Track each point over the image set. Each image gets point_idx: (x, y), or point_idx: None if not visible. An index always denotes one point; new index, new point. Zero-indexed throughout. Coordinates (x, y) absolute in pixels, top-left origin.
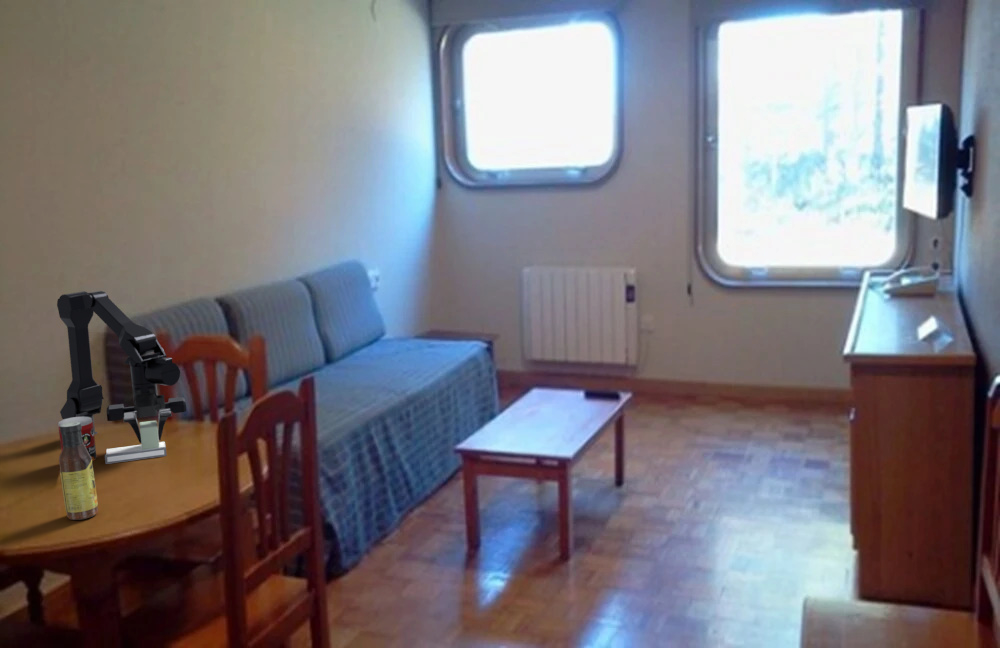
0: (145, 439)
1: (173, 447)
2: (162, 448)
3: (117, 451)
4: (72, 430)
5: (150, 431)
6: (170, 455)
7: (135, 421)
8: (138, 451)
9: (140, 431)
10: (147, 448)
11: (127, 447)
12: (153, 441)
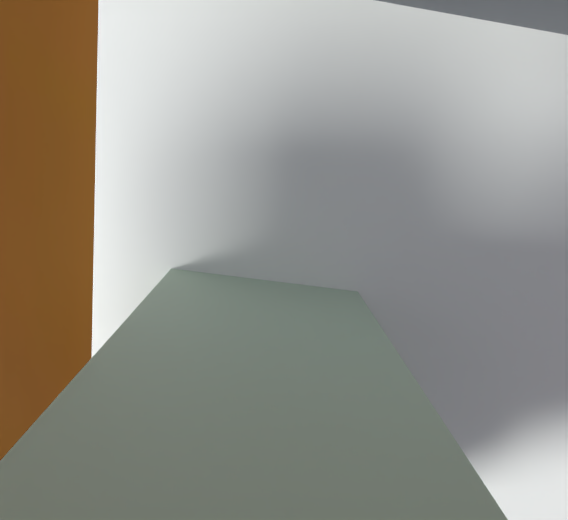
0: (332, 353)
1: (29, 371)
2: None
3: (564, 432)
4: None
5: (219, 436)
6: (72, 87)
7: None
8: None
9: (480, 493)
10: (300, 293)
11: None
12: (209, 316)
